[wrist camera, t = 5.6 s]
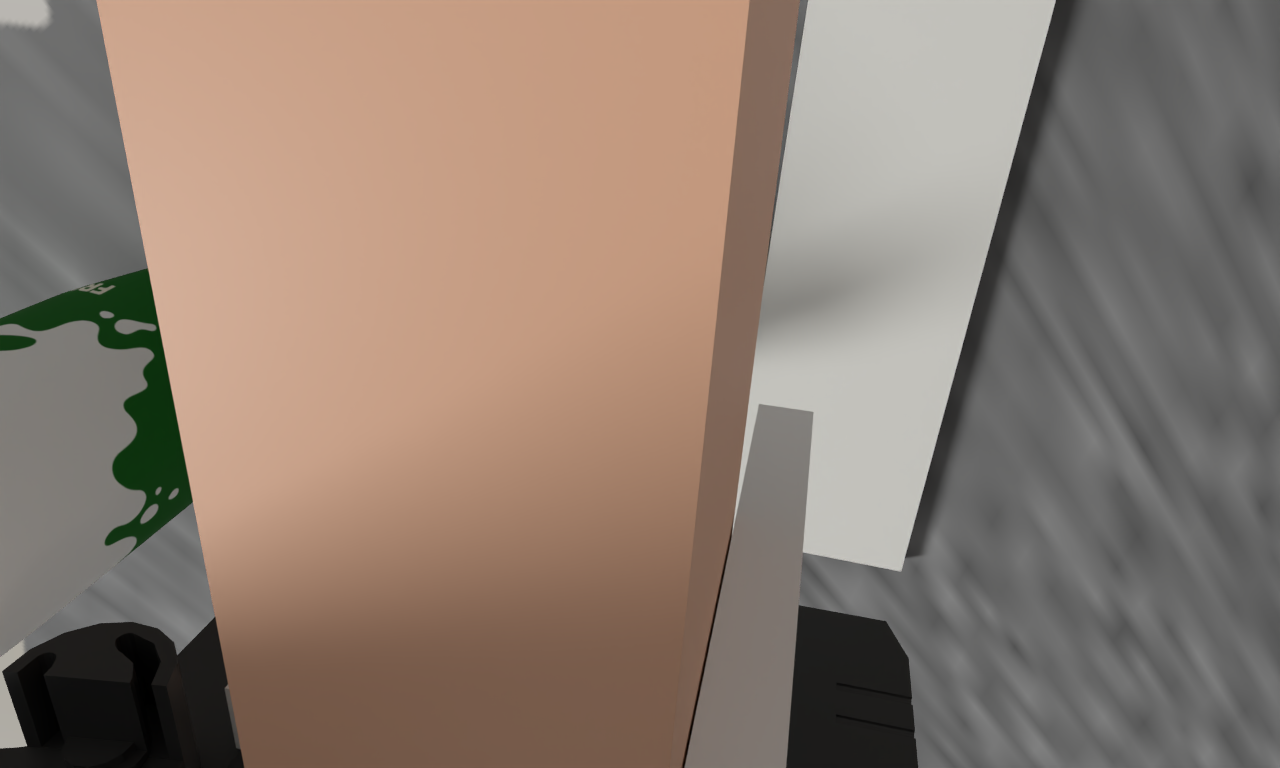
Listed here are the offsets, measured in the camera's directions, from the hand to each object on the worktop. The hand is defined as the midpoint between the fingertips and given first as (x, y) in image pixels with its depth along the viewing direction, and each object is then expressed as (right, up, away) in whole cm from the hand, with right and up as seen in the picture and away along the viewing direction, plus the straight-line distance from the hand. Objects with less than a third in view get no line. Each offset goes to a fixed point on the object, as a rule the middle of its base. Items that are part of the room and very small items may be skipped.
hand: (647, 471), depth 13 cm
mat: (+8, +7, +17) cm, 20 cm away
